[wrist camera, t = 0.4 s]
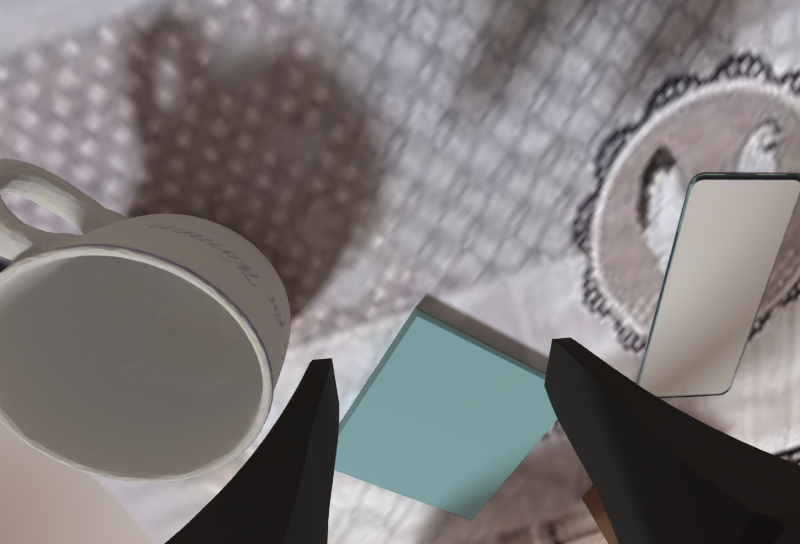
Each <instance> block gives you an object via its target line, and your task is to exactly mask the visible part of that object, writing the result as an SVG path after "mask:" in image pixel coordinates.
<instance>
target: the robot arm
mask: <svg viewBox="0 0 800 544" xmlns="http://www.w3.org/2000/svg"><path fill="white" fill-rule="evenodd" d="M544 387H545V389H546V392H547V395H548V397H549V400H550V403H551V405H552V408H553V410H554V412H555V415H556V417H557V418H558V420H559V422H560V424H561V426H562V428H563V430H564V431H565V433H566V435H567V437H568V439H569V441H570V442H571V444H572V446H573V448H574V450H575V451H576V453H577V455H578V457H579V459H580V461H581V462H582V464H583V466H584V468H585V470H586V471H587V473H588V475H589V477H590V479H591V481H592V483H593V485H594V487H595V489H596V491H597V493H598V495H599V497H600V500H601V502H602V504H603V507H604V509H605V511H606V514H607V516H608V518H609V520H610V523H611V525H612V528H613V530H614V533H615V535H616V538H617V540H618V542H619V544H800V465H797V464H795V463H792V462H790V461H787V460H785V459H782V458H780V457H777V456H775V455H772V454H770V453H767V452H765V451H763V450H760V449H758V448H756V447H753V446H751V445H749V444H746V443H744V442H742V441H740V440H737V439H735V438H733V437H731V436H729V435H727V434H725V433H723V432H721V431H718V430H716V429H714V428H712V427H710V426H708V425H706V424H704V423H702V422H700V421H699V420H697V419H695V418H693V417H691V416H689V415H688V414H686V413H684V412H682V411H680V410H678V409H677V408H675V407H673V406H671V405H670V404H668V403H666V402H664V401H663V400H661V399H660V398H658V397H656V396H655V395H653V394H652V393H650V392H648V391H647V390H645V389H644V388H642V387H641V386H639V385H638V384H636V383H635V382H633V381H631V380H630V379H629V378H627V377H626V376H624V375H623V374H621V373H620V372H618V371H617V370H616V369H614V368H613V367H611V366H610V365H608V364H607V363H606V362H604V361H603V360H602V359H600V358H599V357H597V356H596V355H595V354H593V353H592V352H590V351H589V350H588V349H586V348H585V347H583V346H582V345H581V344H579V343H578V342H576V341H575V340H573V339H572V338H559V339H552V344H551V349H550V355H549V360H548V366H547V372H546V377H545V383H544ZM338 436H339V400H338V394H337V387H336V381H335V375H334V368H333V362H332V358H328V359H317V360H312V361H311V362H310V363H309V366H308V368H307V370H306V372H305V374H304V376H303V378H302V380H301V382H300V383H299V385H298V387H297V389H296V391H295V393H294V394H293V396H292V398H291V399H290V401H289V403H288V404H287V406H286V408H285V409H284V411H283V412H282V414H281V415H280V417H279V418H278V420H277V421H276V423H275V424H274V426H273V427H272V429H271V430H270V432H269V433H268V435H267V436H266V437H265V439H264V440H263V441H262V443H261V444H260V445H259V447H258V448H257V449H256V451H255V452H254V453H253V454H252V456H251V457H250V458H249V459H248V461H247V462H246V463H245V464H244V465H243V467H242V468H241V469H240V470H239V471H238V472H237V473H236V475H235V476H234V477H233V478H232V479H231V480H230V481H229V482H228V484H227V485H226V486H225V487H224V488H223V489H222V490H221V491H220V492H219V493H218V494H217V495H216V496H215V497H214V498H213V499H212V500H211V501H210V502H209V503H208V504H207V505H206V506H205V507H204V508H203V509H202V510H201V511H200V512H199V513H198V514H197V515H196V516H195V517H194V518H193V519H192V520H191V521H190V522H189V523H188V524H186V525H185V526H184V527H183V528H182V529H181V530H180V531H179V532H178V533H176V534H175V535H174V536H173V537H172V538H171V539H169V540H168V541H167V542H166V543H165V544H327V540H328V518H329V507H330V499H331V491H332V483H333V475H334V468H335V460H336V452H337V444H338Z"/></svg>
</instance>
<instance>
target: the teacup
mask: <svg viewBox="0 0 800 544" xmlns="http://www.w3.org/2000/svg"><path fill="white" fill-rule="evenodd" d="M0 192H7V193H12V194H16V195H18V196H21V197H24V198H27V199H29V200H31V201H33V202H35V203H37V204H40V205H41V206H43V207H45V208H47V209H48V210H50V211H52V212H54V213H55V214H57V215H59V216H60V217H62V218H63V219H65V220H67V221H68V222H70V223H71V224H72V225H74V226H75V227H77V228H78V229H79V230H81V231H82V232H83V233H84V235H78V236H77V235H74V234H70V233H50V232H46V231H43V230H39V229H36V228H34V227H31V226H29V225H27V224H25V223H24V222H22V221H21V220H19V219H18V218H17V217H16V216H15V215H14V214H13V213H12V212H11V211H10V210H9V209H8V208H7V206H6V205H5V203H4V202H3V200H2V199H1V195H0V256H2V257H5V258H7V259H9V260H12V261H14V262H15V263H14V264H12V265H11V266H9V267H7V268H6V269H4V270H3V271H2V272H1V273H0V420H1V421H2V423H3V424H4V425H5V426H6V427H7V428H8V429H10V430H11V431H12V432H13V433H14V434H15V435H17V436H18V437H19V438H20V439H22V440H23V441H24V442H26V443H27V444H28V445H30V446H31V447H33V448H34V449H36V450H38V451H39V452H41V453H43V454H45V455H46V456H48V457H50V458H52V459H54V460H55V461H58V462H60V463H63V464H65V465H67V466H69V467H72V468H74V469H77V470H79V471H81V472H85V473H88V474H92V475H95V476H99V477H103V478H107V479H112V480H119V481H125V482H137V483H158V482H167V481H176V480H184V479H188V478H191V477H195V476H199V475H204V474H207V473H211V472H214V471H215V470H216V469H217V468H219V467H221V466H223V465H225V464H228V463H229V462H231V461H232V460H234V459H235V458H237V457H238V456H239V455H241V454H242V453H243V452H244V451H245V450H246V449H247V448H248V447H249V446H250V445H251V444H252V443H253V442H254V441H255V439H256V438H257V436H258V435H259V433H260V432H261V430H262V428H263V426H264V424H265V422H266V420H267V417H268V415H269V412H270V409H271V405H272V401H273V393H274V389H275V386H276V384H277V381H278V378H279V375H280V372H281V369H282V366H283V363H284V359H285V355H286V351H287V347H288V343H289V337H290V328H291V316H290V307H289V302H288V298H287V294H286V291H285V288H284V286H283V283H282V281H281V279H280V277H279V275H278V274H277V272H276V270H275V269H274V267H273V266H272V264H271V263H270V262H269V261H268V259H267V258H266V257H265V256H264V255H263V254H262V253H261V251H259V250H258V249H257V248H256V247H255V246H254V245H253V244H252V243H250V242H249V241H248V240H247V239H245V238H244V237H242V236H241V235H239V234H238V233H236V232H234V231H232V230H231V229H229V228H227V227H224V226H222V225H220V224H218V223H215V222H213V221H210V220H206V219H203V218H199V217H195V216H190V215H183V214H151V215H144V216H139V217H134V218H130V219H126V218H125V217H124V216H123V215H121V214H119V213H117V212H115V211H112V210H109V209H106V208H104V207H103V206H102V205H100V204H99V203H98V202H96V201H95V200H93V199H92V198H91V197H89V196H88V195H86V194H85V193H83V192H82V191H80V190H79V189H77V188H76V187H74V186H73V185H71V184H70V183H68V182H67V181H65V180H63V179H62V178H60V177H59V176H57V175H55V174H53V173H51V172H49V171H47V170H45V169H43V168H40V167H38V166H35V165H33V164H30V163H27V162H23V161H19V160H14V159H0Z"/></svg>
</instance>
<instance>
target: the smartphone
mask: <svg viewBox="0 0 800 544" xmlns="http://www.w3.org/2000/svg"><path fill="white" fill-rule="evenodd" d="M799 197H800V175H798V174H699V175H697V176H695V177H694V178H693V179H692V180H691V182H690V183H689V185H688V189H687V193H686V197H685V200H684V204H683V208H682V212H681V216H680V219H679V223H678V227H677V231H676V235H675V238H674V242H673V246H672V250H671V254H670V257H669V261H668V265H667V269H666V273H665V276H664V280H663V284H662V288H661V292H660V295H659V299H658V303H657V307H656V311H655V314H654V318H653V322H652V326H651V330H650V333H649V337H648V340H647V343H646V347H645V352H644V354H643V358H642V363H641V367H640V370H639V374H638V377H637V383H636V384H638V385H639V386H641V387H642V388H644V389H645V390H647V391H648V392H650V393H652V394H653V395H655V396H656V397H658V398H675V397H695V396H716V395H723V394H725V393H726V392H728V391H729V389H730V388H731V386H732V383H733V380H734V377H735V374H736V372H737V369H738V366H739V363H740V361H741V358H742V355H743V352H744V349H745V347H746V344H747V341H748V338H749V336H750V333H751V330H752V327H753V325H754V322H755V319H756V316H757V313H758V311H759V308H760V305H761V302H762V300H763V297H764V294H765V291H766V288H767V286H768V283H769V280H770V277H771V275H772V272H773V269H774V266H775V264H776V261H777V258H778V255H779V252H780V250H781V247H782V244H783V241H784V239H785V236H786V233H787V230H788V227H789V225H790V222H791V219H792V216H793V214H794V211H795V208H796V205H797V203H798V200H799Z"/></svg>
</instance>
